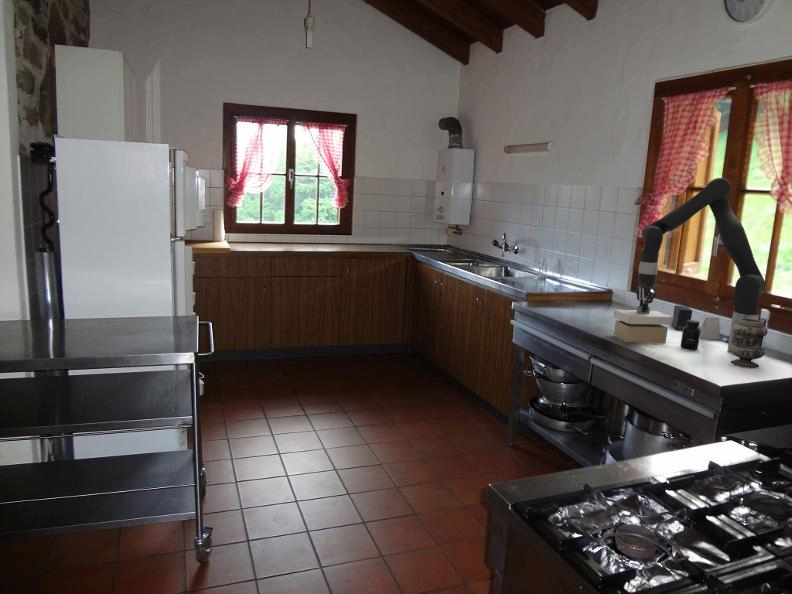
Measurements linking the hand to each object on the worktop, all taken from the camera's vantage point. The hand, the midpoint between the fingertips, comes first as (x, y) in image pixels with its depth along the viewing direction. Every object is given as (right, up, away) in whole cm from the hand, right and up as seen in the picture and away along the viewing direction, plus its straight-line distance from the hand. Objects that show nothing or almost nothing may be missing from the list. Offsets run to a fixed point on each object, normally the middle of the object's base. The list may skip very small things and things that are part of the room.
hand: (643, 311), depth 275 cm
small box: (+30, -9, +30) cm, 44 cm away
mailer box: (-1, -13, +3) cm, 13 cm away
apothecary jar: (+28, -20, -30) cm, 46 cm away
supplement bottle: (+16, -16, -9) cm, 24 cm away
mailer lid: (0, -4, +1) cm, 4 cm away
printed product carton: (+35, -13, +11) cm, 39 cm away
